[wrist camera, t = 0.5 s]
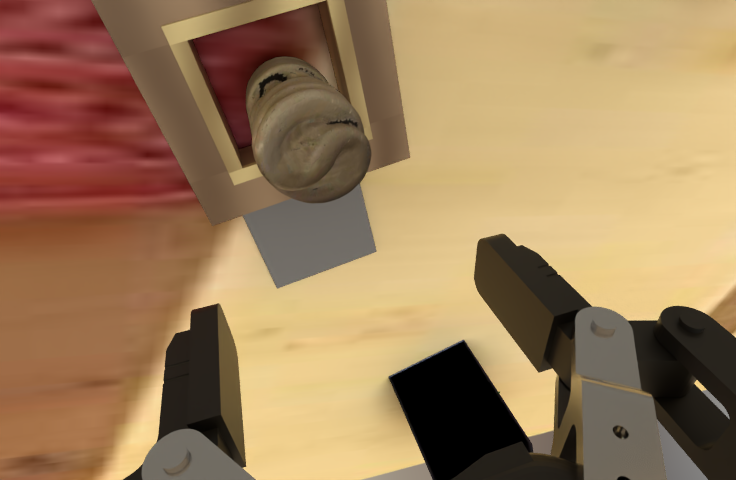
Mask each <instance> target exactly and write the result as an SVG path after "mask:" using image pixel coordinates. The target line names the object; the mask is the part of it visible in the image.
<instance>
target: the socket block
mask: <svg viewBox="0 0 736 480" xmlns="http://www.w3.org/2000/svg"><path fill="white" fill-rule="evenodd" d="M91 1H92V2H93V4H94V6H95V8H96V10H97V12H98V14H99V15H100V17H101V19H102V21H103V23H104V25H105V27H106V29H107V30H108V32H109V34H110V36H111V38H112V40H113V42H114V43H115V45H116V47H117V49H118V51H119V53H120V55H121V57H122V58H123V60H124V62H125V64H126V66H127V68H128V70H129V71H130V73H131V75H132V77H133V79H134V81H135V83H136V84H137V86H138V88H139V90H140V92H141V94H142V96H143V98H144V99H145V101H146V103H147V105H148V107H149V109H150V111H151V112H152V114H153V116H154V118H155V120H156V122H157V124H158V126H159V127H160V129H161V131H162V133H163V135H164V137H165V139H166V140H167V142H168V144H169V146H170V148H171V150H172V152H173V154H174V155H175V157H176V159H177V161H178V163H179V165H180V167H181V168H182V170H183V172H184V174H185V176H186V178H187V180H188V182H189V183H190V185H191V187H192V189H193V191H194V193H195V195H196V196H197V198H198V200H199V202H200V204H201V206H202V208H203V209H204V211H205V213H206V215H207V217H208V219H209V221H210V223H211V224H212V226H214V225H217V224H220V223H222V222H225V221H228V220H231V219H234V218H237V217H240V216H243V215H246V214H248V213H251V212H254V211H257V210H260V209H263V208H266V207H269V206H272V205H274V204H277V203H280V202H283V201H286V200H289V199H292V198H290V197H288V196H286V195H284V194H282V193H281V192H279V191H278V190H276V189H275V188H274V187H273V186H272V185H271V184H270V183H269V182H268V181H267V180H266V179H265V178H264V176H263V175H262V174H261V172H260V170H259V168H258V166H257V164H256V161H255V158H254V154H253V149H252V145H251V146H248V147H245V148H242V149H239V148H238V146H237V144H236V141H235V139H234V137H233V134H232V132H231V130H230V127H229V125H228V123H227V120H226V118H225V116H224V113H223V111H222V109H221V106H220V104H219V102H218V99H217V97H216V95H215V92H214V90H213V87H212V85H211V83H210V80H209V78H208V76H207V73H206V71H205V69H204V66H203V64H202V62H201V59H200V57H199V55H198V52H197V50H196V48H195V45H194V43H193V41H192V39H194V38H198V37H201V36H204V35H208V34H211V33H215V32H218V31H222V30H225V29H229V28H232V27H236V26H239V25H243V24H246V23H249V22H253V21H256V20H260V19H263V18H267V17H270V16H274V15H277V14H281V13H284V12H288V11H291V10H294V9H298V8H301V7H305V6H308V5H312V4H315V3H318V7H319V11H320V16H321V20H322V24H323V28H324V32H325V36H326V40H327V44H328V48H329V53H330V57H331V61H332V65H333V69H334V73H335V77H336V81H337V85H338V89H339V92H340V93H341V94H342V95H343V96H344V97H345V98H346V99H347V100H348V102H349V103H350V104H351V105H352V106H353V107H354V108H355V110H356V111H357V112H358V114H359V115H360V117H361V121H362V124H363V127H364V133H365V136H366V137H367V139H368V141H369V143H370V147H371V161H370V165H369V168H368V171H367V172H370V171H373V170H376V169H379V168H381V167H384V166H387V165H390V164H393V163H396V162H399V161H402V160H405V159H407V158H410V153H409V146H408V140H407V133H406V127H405V120H404V114H403V107H402V101H401V94H400V88H399V81H398V75H397V68H396V62H395V55H394V49H393V42H392V36H391V29H390V23H389V16H388V10H387V3H386V0H91Z"/></svg>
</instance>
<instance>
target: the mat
mask: <svg viewBox="0 0 736 480" xmlns="http://www.w3.org/2000/svg"><path fill="white" fill-rule="evenodd" d="M243 217H244V219H245V221H246V223H247V226H248V228H249V230H250V232H251V234H252V236H253V238H254V240H255V243H256V245H257V247H258V249H259V251H260V253H261V255H262V257H263V260H264V262H265V264H266V266H267V268H268V270H269V272H270V274H271V277H272V279H273V281H274V283H275V285H276V287H277V288H280V287H283V286H285V285H288V284H291V283H293V282H296V281H299V280H302V279H304V278H307V277H310V276H312V275H315V274H318V273H320V272H323V271H326V270H328V269H331V268H334V267H337V266H339V265H342V264H345V263H347V262H350V261H353V260H355V259H358V258H361V257H363V256H366V255H369V254H372V253H374V252H376V247H375V243H374V239H373V235H372V231H371V227H370V223H369V219H368V215H367V211H366V207H365V203H364V199H363V195H362V191H361V187H360V183H359V184H358V185H357V186H356V187H355V188H354V189H353V190H352V191H351V192H349V193H348V194H346V195H345V196H343V197H341V198H339V199H336V200H333V201H331V202H326V203H313V204H311V203H305V202H301V201H298V200H295V199H289V200H286V201H283V202H280V203H277V204H274V205H272V206H269V207H266V208H263V209H260V210H257V211H254V212H251V213H248V214H246V215H243Z"/></svg>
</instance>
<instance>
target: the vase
mask: <svg viewBox="0 0 736 480" xmlns="http://www.w3.org/2000/svg"><path fill="white" fill-rule="evenodd" d="M389 379H390V382H391V384H392V386H393V388H394V391H395V393H396V395H397V398H398V400H399V402H400V405H401V407H402V409H403V412H404V414H405V416H406V419H407V421H408V423H409V426H410V428H411V430H412V433H413V435H414V437H415V439H416V442H417V444H418V446H419V449H420V451H421V453H422V456H423V458H424V460H425V463H426V465H427V467H428V470H429V472H430V474H431V476H432V479H433V480H450V479H453V478H455V477H456V476H457V475H459V474H460V473H461V472H463V471H464V470H465V469H467V468H468V467H469V466H471V465H472V464H473V463H475V462H476V461H477V460H479V459H480V458H481V457H483V456H484V455H485V454H488V453H491V452H494V451H496V450H499V449H502V448H505V447H508V446H510V445H513V444H516V443H519V442H521V441H522V443H523V444H524V446H525V447H526V449H527V451H528V452H529V453H533V447H532V443H531V442H530V440H529V438H528V437H527V435H526V434H525V432H524V431H523V429H522V428H521V426H520V425H519V423H518V422H517V420H516V419H515V417H514V416H513V414H512V413H511V411H510V409H509V408H508V406H507V405H506V403H505V402H504V400H503V399H502V397H501V396H500V394H499V393H500V392H498V391H497V390H496V388H495V387H494V385H493V383H492V382H491V380H490V379H489V377H488V376H487V374H486V373H485V371H484V370H483V368H482V367H481V365H480V364H479V362H478V361H477V359H476V357H475V356H474V354H473V353H472V351H471V350H470V348H469V347H468V345H467V344H466V342H465V341H464V340H462V341H460V342H458V343H456V344H454V345H452V346H450V347H448V348H446V349H444V350H442V351H440V352H438V353H436V354H434V355H432V356H430V357H428V358H426V359H424V360H422V361H420V362H418V363H416V364H413V365H411V366H409V367H407V368H405V369H403V370H401V371H399V372H397V373H395V374H393V375H391V376H389Z"/></svg>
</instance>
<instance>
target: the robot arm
mask: <svg viewBox="0 0 736 480" xmlns="http://www.w3.org/2000/svg"><path fill="white" fill-rule="evenodd" d="M474 280H475V285H476V288H477V290H478V292H479V294H480V295H481V297H482V298H483V299H484V301H485V302H486V303H487V305H488V306H489V307H490V309H491V310H492V311H493V313H494V314H495V315H496V316H497V318H498V319H499V320H500V322H501V323H502V324H503V326H504V327H505V328H506V330H507V331H508V332H509V334H510V335H511V336H512V338H513V339H514V340H515V342H516V343H517V344H518V346H519V347H520V348H521V350H522V351H523V352H524V354H525V355H526V356H527V358H528V359H529V360H530V362H531V363H532V364H533V366H534V367H535V368H536V370H537V371H538V372H542V371H545V370H548V369H551V368H553V369H554V371H555V372H556V373H557V377H556V382H555V414H554V438H553V445H552V450H551V455H547V454H541V453H529V452H528V451H527V449H526V447H525V446H524V444H523V443H522V441H521V442H519V443H516V444H513V445H510V446H508V447H505V448H502V449H499V450H496V451H494V452H491V453H488V454H485V455H484V456H483V457H481V458H480V459H479V460H477V461H476V462H475V463H473V464H472V465H471V466H469V467H468V468H467V469H465V470H464V471H463V472H461V473H460V474H459V475H457V476H456V477H455V478H453V479H450V480H667V478H666V472H665V466H664V461H663V454H662V448H661V442H660V436H659V430H658V424H657V419H658V421H659V422H660V423H661V424H662V425H663V426H664V428H665V429H666V430H667V431H668V432H669V434H670V435H671V436H672V437H673V438H674V440H675V441H676V442H677V443H678V444H679V445H680V447H681V448H682V449H683V450H684V451H685V452H686V454H687V455H688V456H689V457H690V458H691V460H692V461H693V462H694V463H695V464H696V466H697V467H698V468H699V469H700V470H701V471H702V473H703V474H704V475H705V476H706V477H707V479H708V480H736V337H734V336H733V335H732V334H731V333H729V332H728V331H727V330H726V329H725V328H723V327H722V326H721V325H720V324H719V323H717V322H716V321H715V320H714V319H712V318H711V317H710V316H708V315H707V314H705V313H703V312H701V311H699V310H696V309H693V308H689V307H684V306H672V307H668V308H666V309H664V310H663V311H662V313H661V315H660V317H659V319H658V321H627V320H626V319H625V318H624V317H623V316H621V315H620V314H618V313H616V312H614V311H612V310H610V309H607V308H602V307H592V306H591V305H590V304H589V303H588V302H587V301H586V300H585V299H584V298H583V297H582V296H581V295H580V294H579V293H578V292H577V291H576V290H575V289H574V288H573V287H572V286H571V285H570V284H568V283H567V282H566V281H565V280H564V279H563V278H562V277H561V276H560V275H558V274H557V272H556V271H555V270H554V269H553V268H552V267H551V266H549V265H548V263H547V262H546V261H545V260H544V259H543V258H542V257H541V256H540V255H539V254H538V253H536V252H534V251H532V250H530V249H528V248H526V247H524V246H523V245H521V246H516V245H515V244H514V243H513V242H512V241H511V240H510V239H509V238H508V237H507V236H506V235H505V234H499V235H495V236H491V237H487V238H483V239H480V240H479V241H478V245H477V254H476V263H475V272H474ZM696 380H698V381H699V382H700V383H701V384H702V385H703V386H704V387H705V388H706V389H707V390H708V391H709V392H710V393H711V394H712V395H713V396H714V397H715V398H716V399H717V400H718V401H719V402H720V403H721V404H722V405H723V406H724V407H725V409H726V410H727V412H728V414H729V417H730V420H729V419H728V418H727V417H726V415H724V414H723V413H722V411H720V409H718V407H716V405H714V404H713V402H711V401H710V399H709V398H708V397H706V395H705V394H704V393H703V392H702V391H701V390H700V389H699V388H698V387H697V386H696V385H695V384H694V383H695V381H696ZM243 467H246V459H245V446H244V433H243V420H242V407H241V394H240V380H239V367H238V357H237V351H236V346H235V343H234V339H233V337H232V334H231V331H230V329H229V326H228V323H227V321H226V318H225V315H224V313H223V310H222V308H221V306H220V304H215V305H211V306H207V307H203V308H199V309H194V310H192V311H191V323H190V330H188V331H184V332H180V333H176V334H175V336H174V337H173V339H172V341H171V343H170V344H169V346H168V348H167V350H166V359H165V370H164V384H163V392H162V403H161V413H160V424H159V434H158V440H157V443H156V444H155V445H154V446H153V447H152V448H151V450H150V451H149V452H148V454H147V456H146V458H145V460H144V462H143V464H142V465H141V466H140V467H139V468H138V469H137V470H136V471H135V472H134V473H132V474H131V475H129V476H128V477H126V478H125V479H123V480H256V479H254V478H253V477H252V476H251V475H250V474H249V473H247V472H246V471H245V470H244V469H243Z"/></svg>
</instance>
